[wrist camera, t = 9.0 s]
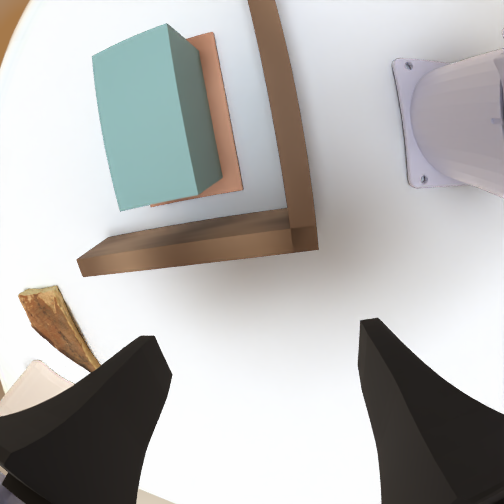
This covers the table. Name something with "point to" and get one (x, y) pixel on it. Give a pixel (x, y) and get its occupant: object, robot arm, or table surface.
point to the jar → (33, 388)
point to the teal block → (155, 118)
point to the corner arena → (231, 177)
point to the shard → (57, 324)
